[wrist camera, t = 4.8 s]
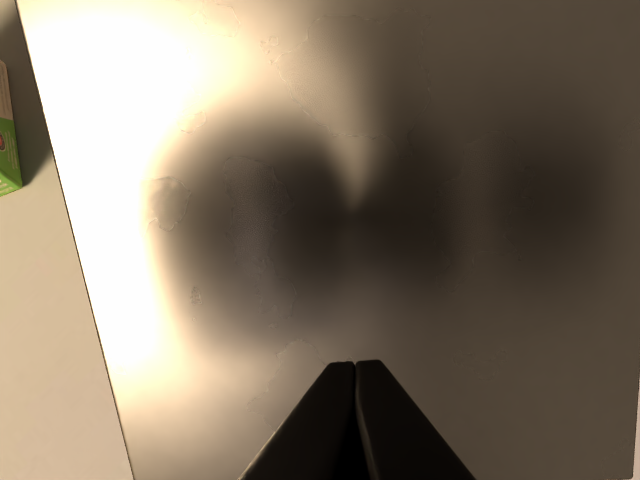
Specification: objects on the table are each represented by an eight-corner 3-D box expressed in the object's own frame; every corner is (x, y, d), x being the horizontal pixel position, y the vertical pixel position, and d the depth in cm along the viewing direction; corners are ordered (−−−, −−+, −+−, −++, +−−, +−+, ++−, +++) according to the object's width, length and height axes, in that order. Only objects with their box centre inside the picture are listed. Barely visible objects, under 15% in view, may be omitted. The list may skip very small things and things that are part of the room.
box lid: (5, -114, 10) (-19, -126, 10) (660, -214, 9) (683, -235, 9) (147, 480, 14) (137, 500, 14) (620, 459, 13) (634, 480, 13)
